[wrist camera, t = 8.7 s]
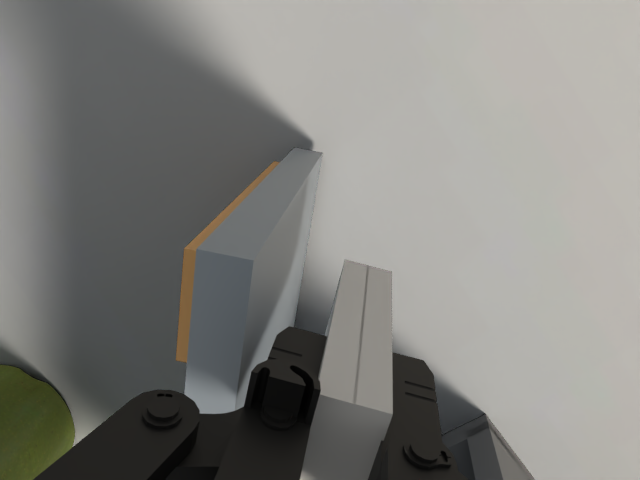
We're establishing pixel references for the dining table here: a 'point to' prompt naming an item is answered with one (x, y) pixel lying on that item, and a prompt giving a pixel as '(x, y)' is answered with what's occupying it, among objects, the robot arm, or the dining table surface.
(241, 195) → the side door
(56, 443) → the plant pot
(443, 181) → the dining table surface
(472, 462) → the block
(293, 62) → the dining table surface
